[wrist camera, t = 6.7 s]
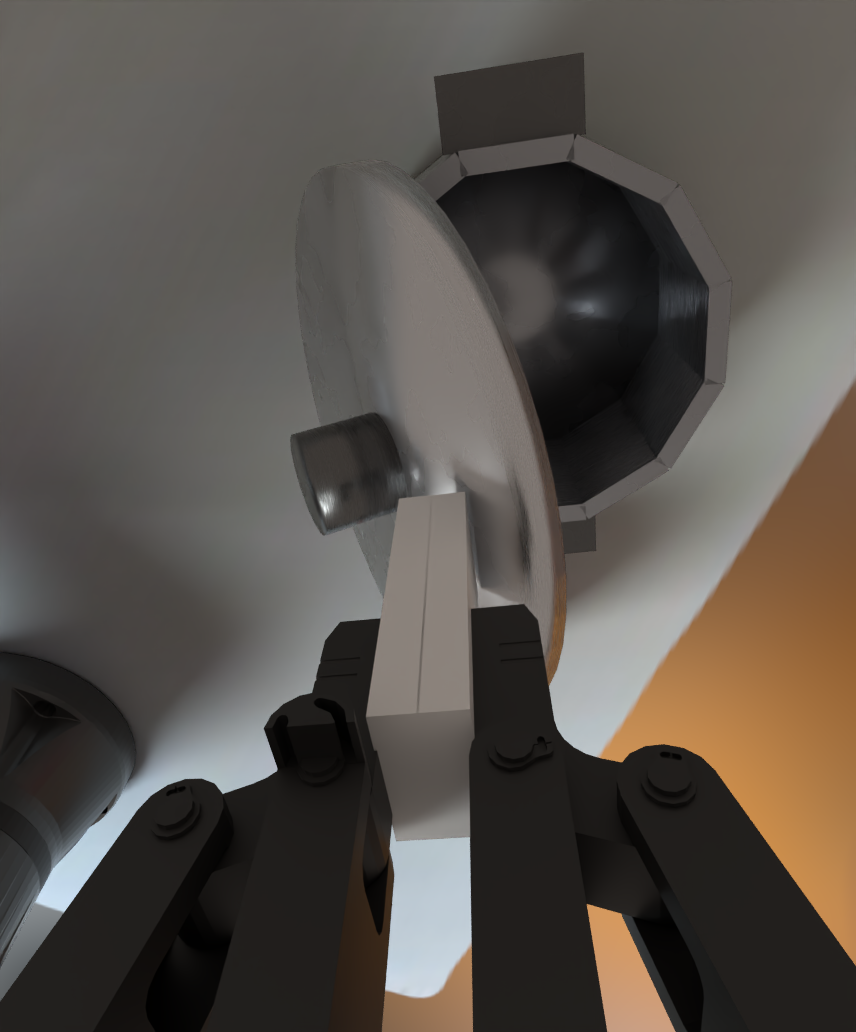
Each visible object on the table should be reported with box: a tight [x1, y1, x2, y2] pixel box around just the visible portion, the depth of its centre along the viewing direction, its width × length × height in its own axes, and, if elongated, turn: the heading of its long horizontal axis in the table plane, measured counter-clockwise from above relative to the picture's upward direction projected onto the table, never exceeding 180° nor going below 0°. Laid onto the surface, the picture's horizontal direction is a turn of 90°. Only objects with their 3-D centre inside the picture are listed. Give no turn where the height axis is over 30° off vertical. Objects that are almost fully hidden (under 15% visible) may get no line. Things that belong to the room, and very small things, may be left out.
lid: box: [290, 159, 566, 685], centre depth 21 cm, size 16×16×3 cm
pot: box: [414, 53, 732, 554], centre depth 31 cm, size 16×20×8 cm
